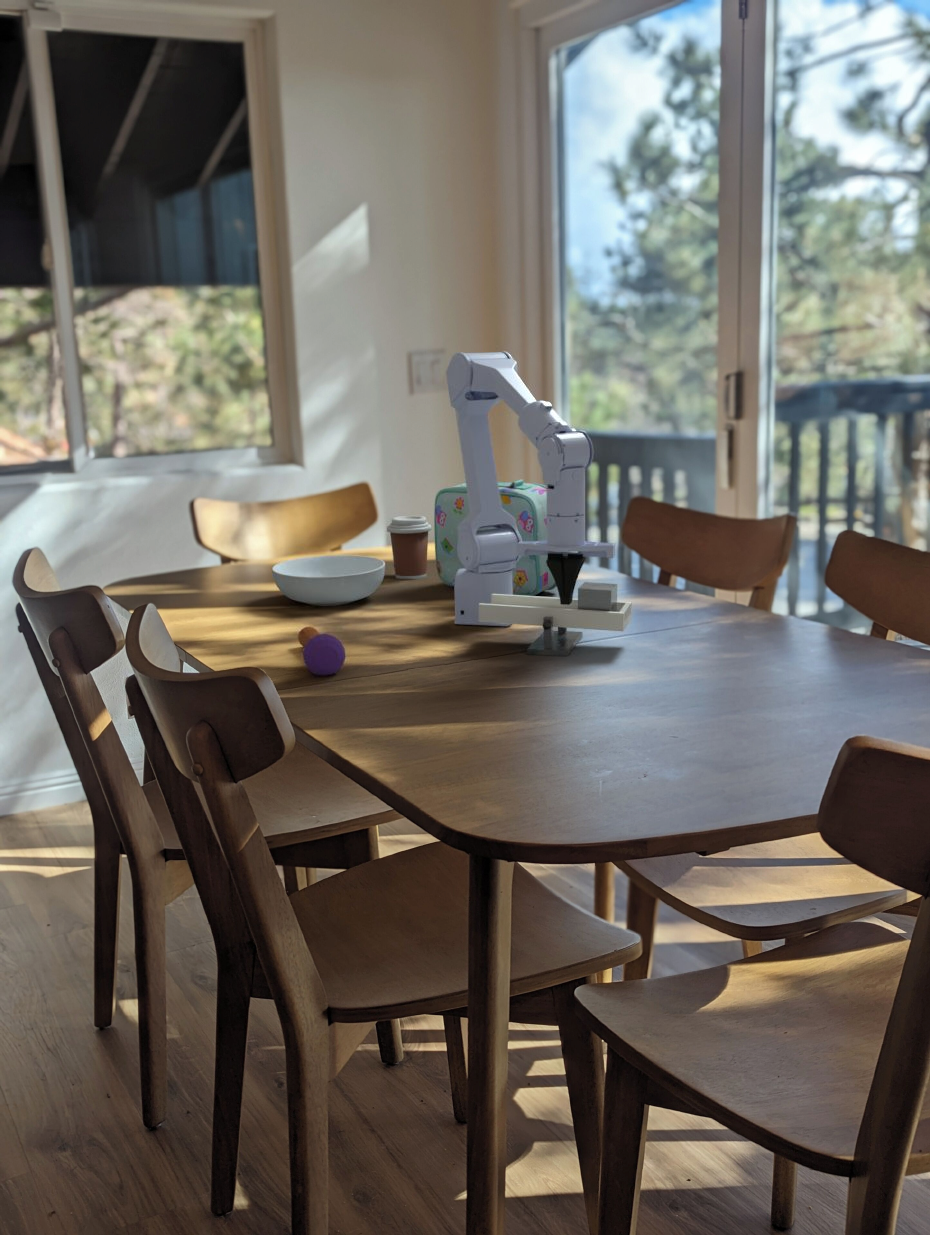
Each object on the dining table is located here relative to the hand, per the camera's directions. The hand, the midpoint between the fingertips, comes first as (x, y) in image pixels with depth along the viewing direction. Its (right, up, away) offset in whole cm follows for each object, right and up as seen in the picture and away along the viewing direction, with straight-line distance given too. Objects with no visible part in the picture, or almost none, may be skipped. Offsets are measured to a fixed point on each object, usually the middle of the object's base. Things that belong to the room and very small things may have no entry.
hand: (566, 603), depth 173 cm
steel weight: (+5, -2, -1) cm, 5 cm away
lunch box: (-8, +3, +44) cm, 45 cm away
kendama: (-37, -9, -3) cm, 38 cm away
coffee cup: (-26, +6, +60) cm, 66 cm away
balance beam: (-2, -2, +1) cm, 3 cm away
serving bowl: (-40, +1, +39) cm, 56 cm away
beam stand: (-1, -6, +2) cm, 7 cm away
